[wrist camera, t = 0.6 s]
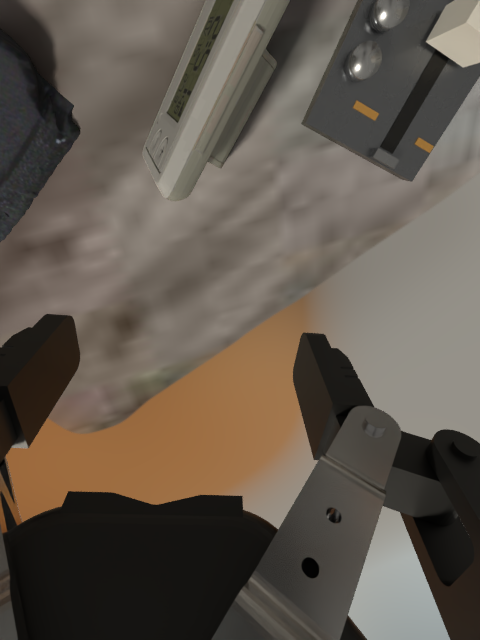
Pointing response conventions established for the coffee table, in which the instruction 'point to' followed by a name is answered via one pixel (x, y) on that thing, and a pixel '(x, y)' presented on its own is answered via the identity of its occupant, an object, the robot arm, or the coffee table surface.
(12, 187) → the dark slate chunk
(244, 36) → the digital clock
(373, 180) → the coffee table surface
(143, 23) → the coffee table surface
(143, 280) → the coffee table surface
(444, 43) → the fader tab
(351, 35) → the console
